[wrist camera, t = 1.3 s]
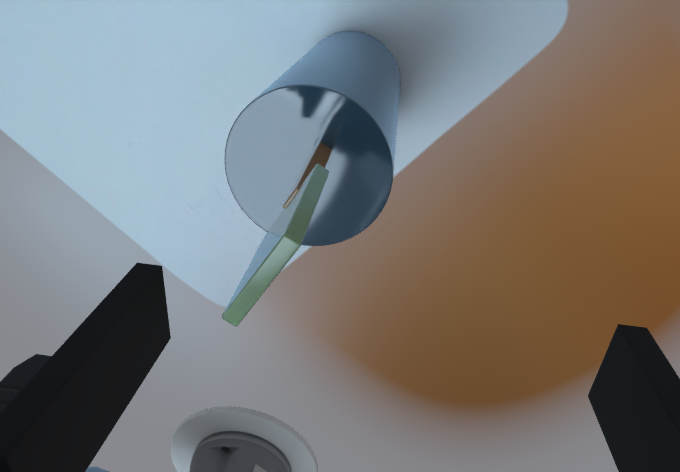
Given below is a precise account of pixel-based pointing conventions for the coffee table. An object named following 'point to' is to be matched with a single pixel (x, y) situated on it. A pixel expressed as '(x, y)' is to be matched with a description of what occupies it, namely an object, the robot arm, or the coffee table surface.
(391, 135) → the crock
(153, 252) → the coffee table surface
